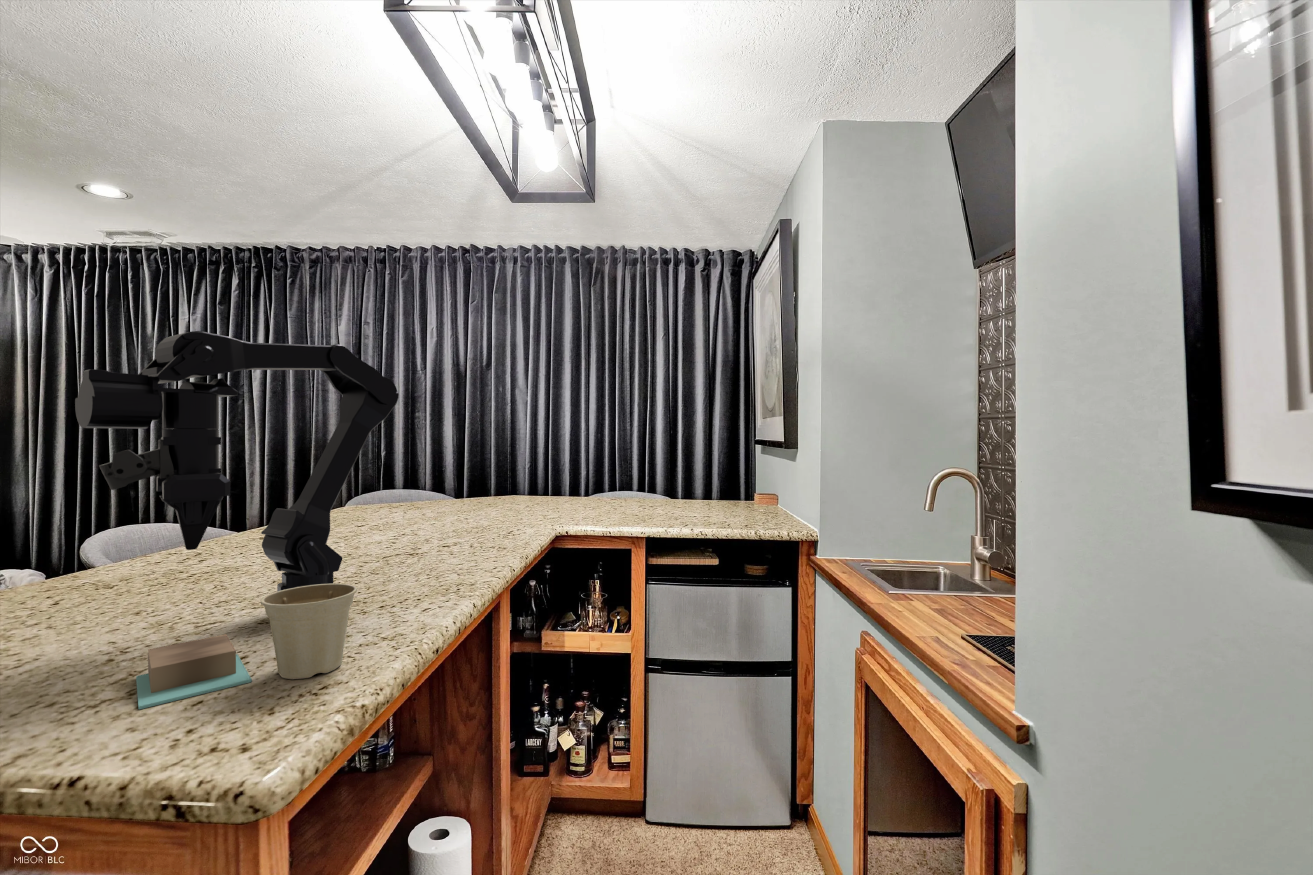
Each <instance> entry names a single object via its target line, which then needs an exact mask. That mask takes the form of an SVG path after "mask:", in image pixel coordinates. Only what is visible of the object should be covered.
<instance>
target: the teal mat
mask: <svg viewBox="0 0 1313 875" xmlns="http://www.w3.org/2000/svg"><path fill="white" fill-rule="evenodd" d="M135 680H136V681H135V682H136V692H137V706H138V708H137V709H138V710H143V709H147V708H152V707H155V706H159V705H164V704H167V703H171V702H176V701H180V700H184V699H187V698H191V697H196V696H199V695H200V696H201V695H204V694H208V693H212V692H216V691H220V690H225V689H227V688H231V687H236V686H241V685H245V684H248V683H252V678H251V675H250V674H249V672H248V670H247V669H246V667H245V664H244V663H243V661H242V659H241V658H240V656H239V654H238V653H236V673H235V674H230V675H226V676H222V677H218V678H213V679H209V680H205V681H200V682H196V683H192V684H188V685H183V686H179V687H175V688H171V689H166V690H162V691H158V692H153V693H151V688H150V681H149V674H148V673H144V674H140V675H136V676H135Z"/></svg>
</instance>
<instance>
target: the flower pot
mask: <svg viewBox="0 0 1313 875" xmlns="http://www.w3.org/2000/svg"><path fill="white" fill-rule="evenodd" d="M357 593H358V587H357V586H356V585H354V584H349V583H336V582H335V583H334V582H333V583H332V584H318V585H309V586H302V587H296V588H290V589H285V590H281V591H278V592H277V591H275V592H271V593H269V594H267V595H264V596H263V597H262V598H261V599H260V605H262V606H263V607H264V610H265V611H264V612H265V615H266V617H267V618H269V625H270V630H271V635H272V636H271V637H272V642H273V648H274V653H275V659H276V666H277V667H276V668H277V673H278V674H279V676H280V677H281V678H282V679H286V680H287V679H289V680H302V679H303V680H304V679H308V678H311V677H313V676H314V675H316V674H320V673H322V674H327V673H329V672H330V673H331V672H333V671H334V670H336V669H338V668H339V667H340V666H341V665H342V663H343V656H344V649H345V641H346V633H347V627H348V619H349V614H350V608H351V606H352V605H353V603H354V596H355V594H357Z"/></svg>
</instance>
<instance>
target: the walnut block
mask: <svg viewBox="0 0 1313 875" xmlns="http://www.w3.org/2000/svg"><path fill="white" fill-rule="evenodd" d="M236 654H237V650H236V648H235V647H234V645H233V643H232V642H231V639H230V638H229V636H228V635H227V634H226V633H225V634H220V635H214V636H210V637H204V638H199V639H195V640H193V639H192V640H188V641H184V642H183V641H182V642H179V643H174V644H167V645H163V646H158V647H152V648H148V649H147V659H148V661H147V663H148V664H147V674H149V681H150V688H151V693H153V692H158V691H162V690H166V689H171V688H175V687H179V686H183V685H188V684H192V683H196V682H200V681H205V680H209V679H213V678H218V677H222V676H226V675H230V674H235V673H236Z"/></svg>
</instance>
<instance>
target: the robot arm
mask: <svg viewBox="0 0 1313 875" xmlns="http://www.w3.org/2000/svg"><path fill="white" fill-rule="evenodd" d="M154 356H155V358H153V360H152V361H151V362H149V363H148V364H147V365H146V366H145V367H144V368H142V370H141V371H140V372H139V373H138V374H137V373H124V372H113V371H109V370H105V369H94V368H91V369H86V370H84V371H83V374H82V376H83V377H82V381H81V383H80V386H79V389H78V393H77V397H75V399H74V404H75V405H74V407H75V408H74V409H75V417H76V419H77V422H78V425H79V427H81V428H83V429H137V430H138V429H139V430H141V429H145V430H146V429H148V428H149V427H150V426H151V424H152V422H157V421H159V420H160V419H162V420H161V423H162V424H161V437H160V439H158V440H157V448H155V449H152V450H149V451H145V452H141V453H138V454H137V453H135V452H134V451H132V450H131V449H126V450H122V451H118V452H115V453H113V456H112V460H111V461H110V462H106V463H104V464H99V465H98V467H99V469H100V470H101V473H102V475H103V477H104V479H105V480H106V482H107V484H108V486H109V489H110V490H111V491H114V490H118V489H121V488H124V487H127V486H128V485H129V484H132V483H135V482H139V481H141V480H144V479H148V478H150V477H153V476H156V492H158V493H159V492H162V494H161V495H159V498H160V499H161V501H162V502H164V504H166V505H168V506H170V507H171V508H173V509H174V510H175V513H176V514H175V515H176V516H177V521H178V525H179V528H180V532H181V536H182V541H183V543H184V547H185V550H186V551H193V550H197V549H198V547H199V545H200V544H201V541H202V539H203V537H204V536H205V533H206V531H207V529H208V527H209V526H210V524H211V521H212V519H213V517H214V515H215V513H216V511H217V510H218V508H219V505H220V503H221V502H222V500H223V498H224V497H230V496H231V480H230V479H229V478H227V477H226V476H225V475H224V474H223V473H222V468H221V467H220V445H222V437H221V436H220V418H219V417H220V406H219V405H220V402H219V401H220V399H219V398H220V397H221V398H225V397H226V398H227V397H236V396H238V394H239V392H238V390H236V389H235V388H234V387H233V386H231V385H229V383H227V382H226V380H225V379H224V378H223V377H219V378H214V379H213V380H212V381H211V382H196V381H184V382H183V383H182V384H181V385H180V386H179V388H171V387H159V384H166V383H174V382H175V383H176V382H181V381H183V380H185V379H192V378H201V377H206V376H208V377H209V376H214V375H221V374H227V373H232V372H238V371H250V370H251V371H259V370H260V371H304V370H305V371H309V370H310V371H321V372H322V373H323V374H324V375H325V376H326V379H327V380H328V381H329V383H330V385H331V386H332V388H333V389H334V390H335V391H337V393H338V394H340V395H341V399H340V402H339V404H338V406H339V420H338V423H337V426H335V427H336V428H335V429H334V431H333V433H332V435H331V437H330V439H329V441H328V442H327V444H326V446H325V448H324V450H323V452H322V453H321V456H320V458H319V459H318V461H317V463H316V465H315V467H314V469H313V471H312V473H311V474H310V476H309V479H307V482H306V484H305V486H304V487H303V490H302V492H301V493H300V495H299V497H298V499H297V500H296V502H294V503H293V504H292V505H291V506H290V507H289V508H287V509H285V508H280V507H279V508H278V507H277V508H276V509H275V510H274V511H273V512H272V515H271V518H270V521H269V523H268V525H267V526H266V527H265V528H264V529H263V530H262V531H261V533H260V534H261V535H264V536H263V539H262V542H261V549H263V550H262V551H263V553H264V556H266V557H267V558H268V559H269V560H270V561H272V562H273V564H274V566H275V568H276V570H277V572H281V582H279V583H278V584H277V591H276V592H278V591H281V590H285V589H290V588H296V587H302V586H309V585H318V584H332V583H334V573H335V572H339V570H340V566H341V564H342V562H343V557H342V556H341V555H340V554H339V553H338V552H336V551H335V550H334V549H333V548H331V546H329V545H328V544H327V543H328V540H329V536H330V534H331V511H332V509H333V507H334V505H335V503H336V501H337V499H338V496H339V495H340V492H341V490H342V488H344V485H345V483H346V482H347V479H348V476H349V475H350V473H351V471H352V469H353V467H354V465H355V463H356V462H357V459H358V457H359V455H360V453H361V451H362V449H363V447H364V445H365V443H366V441H367V439H368V437H369V435H370V433H372V431H373V430H374V429H375V428H376V427H377V426H378V425H380V424H381V423H382V422H383V421H384V420H385V419H387V418H388V416H389V414H390V413H391V411H392V410H393V409H394V408H395V406H396V405H397V404H398V401H399V398H400V396H399V395H400V394H399V392H398V390H397V386H396V384H395V383H394V381H392V379H390V378H387V377H386V376H383V374H382V373H381V372H380V371H379V370H378V369H376V368H374V367H373V366H372V365H371V364H368V363H367V362H365V361H363V360H362V359H360V358H359V357H357V355H355V354H354V353H353V352H352V351H351V350H350V349H349V348H347V347H346V346H343V344H338V343H337V344H336V343H334V344H329V345H326V344H325V345H324V344H323V345H322V344H297V343H296V344H294V343H274V342H273V343H272V342H271V343H268V342H250V341H245V340H241V339H237V338H234V337H231V336H227V335H223V334H218V333H211V332H207V331H202V330H201V331H199V330H194V331H193V330H192V331H188V332H183V333H178V334H176V335H175V334H174V335H171V336H169V337H168V336H167V337H164V338H163V339H162V340H161V341H160V342H159V343H158V345H157V346H156V348H155V355H154Z"/></svg>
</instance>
